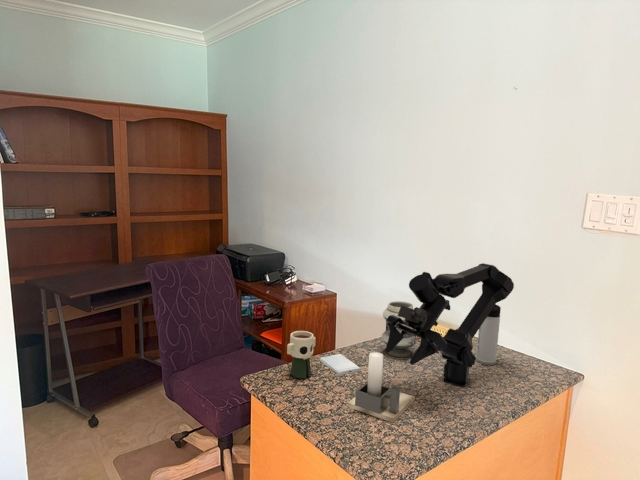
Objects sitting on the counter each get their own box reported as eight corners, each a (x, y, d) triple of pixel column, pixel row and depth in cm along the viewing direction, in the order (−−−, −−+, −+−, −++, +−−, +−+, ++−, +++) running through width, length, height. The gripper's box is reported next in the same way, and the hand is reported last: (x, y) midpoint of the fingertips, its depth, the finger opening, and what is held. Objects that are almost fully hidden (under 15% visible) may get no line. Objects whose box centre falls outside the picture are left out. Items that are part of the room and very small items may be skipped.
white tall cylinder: (381, 399, 118) (383, 353, 117) (380, 406, 115) (382, 358, 113) (367, 397, 119) (369, 351, 117) (366, 404, 116) (368, 356, 114)
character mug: (294, 384, 130) (295, 342, 128) (279, 376, 135) (280, 335, 133) (321, 374, 137) (323, 334, 135) (306, 367, 142) (307, 327, 140)
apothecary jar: (381, 345, 163) (384, 298, 161) (415, 349, 161) (418, 301, 158) (379, 358, 151) (382, 307, 149) (415, 362, 149) (419, 310, 146)
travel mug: (497, 361, 153) (502, 304, 150) (493, 367, 147) (498, 308, 144) (478, 356, 156) (483, 301, 153) (474, 362, 150) (479, 305, 148)
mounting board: (413, 400, 123) (414, 396, 122) (393, 422, 111) (393, 418, 111) (371, 387, 130) (371, 383, 129) (347, 407, 118) (347, 402, 118)
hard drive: (319, 357, 148) (339, 371, 137) (340, 353, 152) (361, 367, 141) (319, 362, 148) (338, 376, 137) (340, 358, 152) (360, 372, 141)
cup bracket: (402, 407, 116) (404, 384, 116) (391, 418, 110) (392, 395, 110) (367, 395, 122) (368, 373, 121) (354, 406, 116) (356, 383, 115)
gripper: (392, 287, 128) (360, 330, 124) (443, 303, 113) (409, 353, 109) (410, 310, 134) (380, 352, 129) (460, 328, 119) (429, 376, 114)
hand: (398, 357), depth 120 cm, fingers open, 9 cm apart
